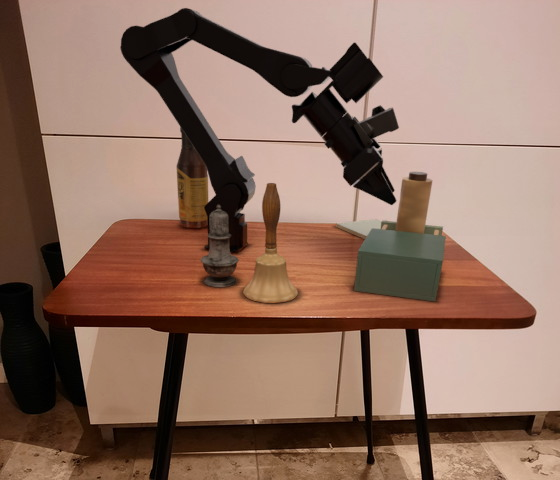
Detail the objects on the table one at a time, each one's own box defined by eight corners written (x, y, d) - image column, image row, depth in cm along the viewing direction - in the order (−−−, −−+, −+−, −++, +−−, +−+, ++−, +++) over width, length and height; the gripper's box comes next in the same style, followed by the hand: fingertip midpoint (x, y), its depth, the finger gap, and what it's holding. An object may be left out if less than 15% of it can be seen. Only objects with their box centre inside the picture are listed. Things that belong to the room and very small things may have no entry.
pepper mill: (391, 253, 97) (401, 174, 90) (394, 246, 101) (404, 169, 94) (419, 256, 96) (432, 176, 89) (421, 249, 100) (434, 172, 93)
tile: (365, 239, 111) (366, 235, 111) (335, 226, 119) (336, 223, 119) (407, 234, 116) (408, 230, 115) (376, 222, 124) (376, 219, 124)
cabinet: (367, 264, 97) (371, 228, 94) (439, 272, 94) (445, 235, 91) (353, 290, 85) (358, 250, 82) (435, 301, 82) (443, 260, 79)
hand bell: (242, 302, 79) (241, 188, 71) (244, 283, 86) (244, 177, 78) (299, 304, 79) (305, 190, 71) (296, 284, 86) (301, 179, 79)
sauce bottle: (180, 222, 118) (174, 121, 109) (209, 222, 119) (206, 122, 109) (178, 230, 113) (172, 124, 103) (209, 230, 113) (206, 125, 104)
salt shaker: (233, 289, 83) (232, 209, 78) (196, 285, 84) (193, 206, 79) (242, 277, 88) (242, 201, 83) (208, 273, 89) (205, 198, 84)
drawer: (381, 239, 108) (384, 215, 106) (439, 246, 106) (443, 221, 103) (368, 265, 94) (372, 238, 91) (435, 273, 91) (440, 245, 89)
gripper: (373, 88, 79) (438, 173, 83) (373, 86, 95) (427, 157, 99) (315, 144, 83) (379, 222, 87) (324, 133, 99) (378, 199, 104)
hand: (393, 197), depth 94 cm, fingers open, 9 cm apart
